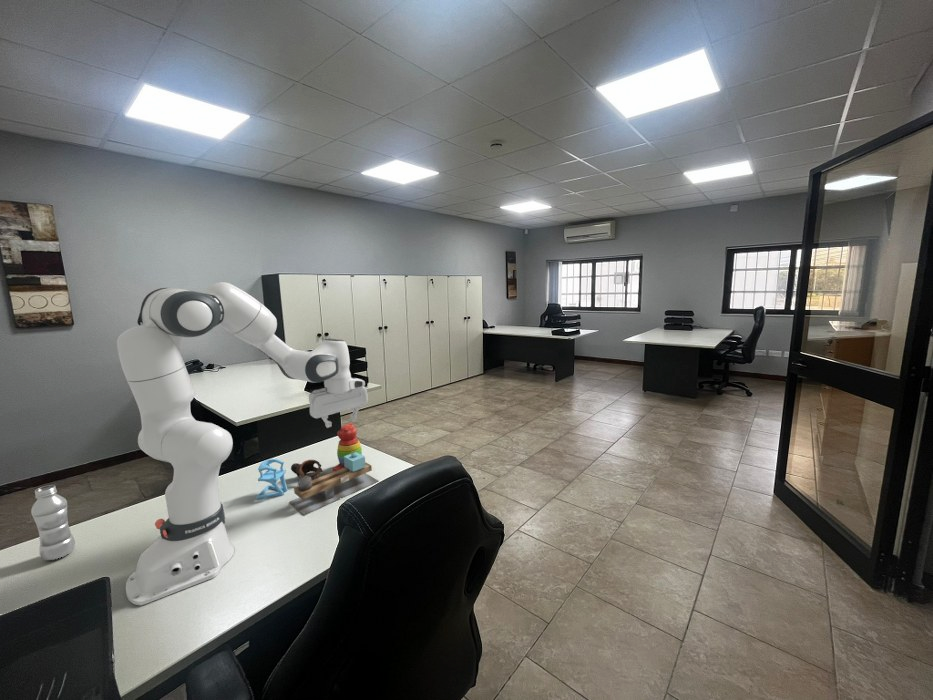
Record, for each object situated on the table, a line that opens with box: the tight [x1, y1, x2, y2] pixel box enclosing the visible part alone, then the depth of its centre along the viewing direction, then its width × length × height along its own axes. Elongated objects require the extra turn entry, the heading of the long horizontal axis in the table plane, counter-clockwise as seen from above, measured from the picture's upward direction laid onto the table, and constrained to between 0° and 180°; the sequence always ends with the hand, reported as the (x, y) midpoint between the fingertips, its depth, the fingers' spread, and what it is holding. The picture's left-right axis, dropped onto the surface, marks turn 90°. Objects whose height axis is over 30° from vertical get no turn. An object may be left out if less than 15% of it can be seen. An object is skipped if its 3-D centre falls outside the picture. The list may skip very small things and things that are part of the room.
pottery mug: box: [290, 459, 324, 481], centre depth 143 cm, size 12×10×8 cm
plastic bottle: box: [30, 484, 76, 561], centre depth 102 cm, size 6×7×20 cm
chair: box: [256, 458, 289, 500], centre depth 133 cm, size 8×8×12 cm
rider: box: [344, 452, 366, 472], centre depth 138 cm, size 5×6×7 cm
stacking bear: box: [332, 422, 363, 472], centre depth 150 cm, size 11×10×18 cm
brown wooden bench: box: [289, 461, 380, 516], centre depth 133 cm, size 28×11×9 cm, turn 137°
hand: (341, 422), depth 132 cm, fingers open, 8 cm apart
